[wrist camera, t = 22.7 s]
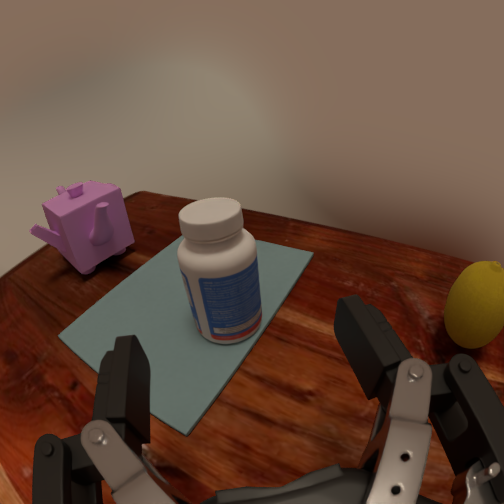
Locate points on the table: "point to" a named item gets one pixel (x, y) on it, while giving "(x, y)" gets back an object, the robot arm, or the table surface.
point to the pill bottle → (220, 270)
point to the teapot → (86, 224)
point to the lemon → (476, 305)
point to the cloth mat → (179, 330)
